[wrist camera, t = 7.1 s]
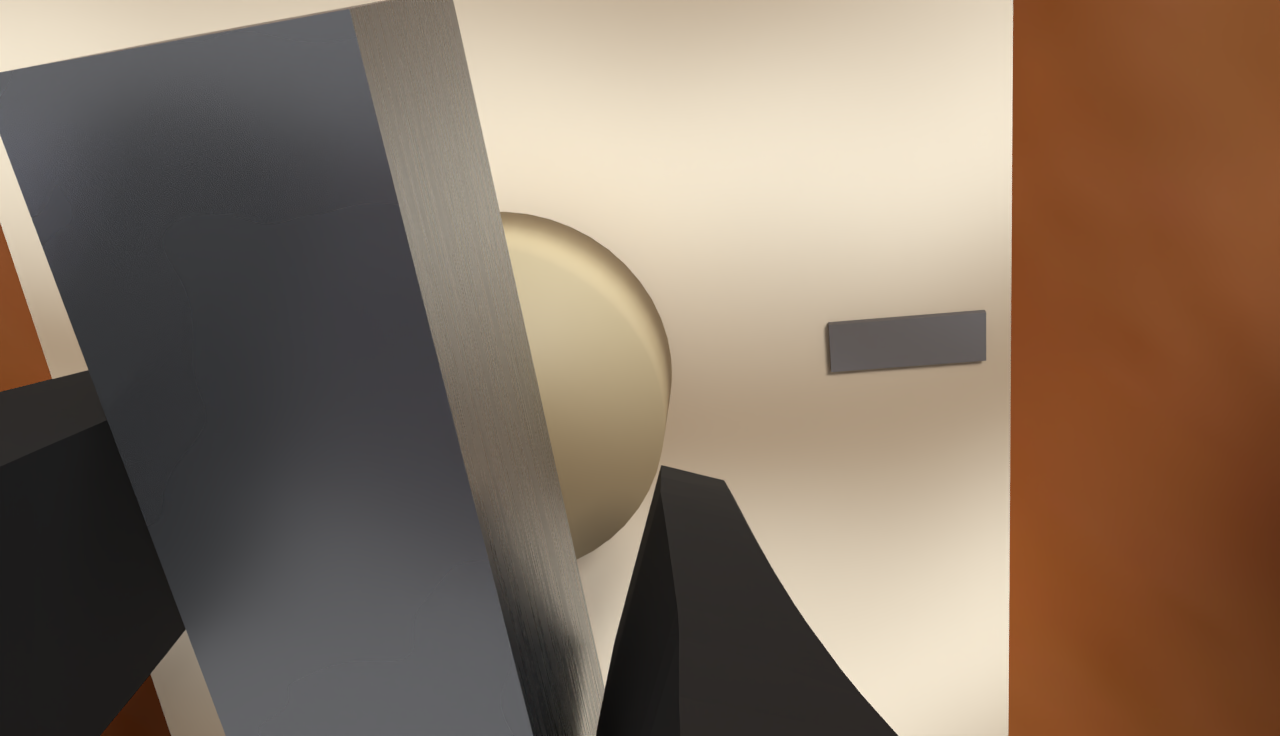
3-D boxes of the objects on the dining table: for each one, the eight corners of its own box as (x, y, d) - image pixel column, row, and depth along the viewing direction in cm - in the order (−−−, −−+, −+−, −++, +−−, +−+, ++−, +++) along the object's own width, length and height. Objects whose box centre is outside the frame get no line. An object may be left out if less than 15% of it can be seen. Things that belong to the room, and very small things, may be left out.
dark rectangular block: (500, -23, 10) (354, 7, 6) (660, 760, 13) (628, 1096, 10) (249, 24, 11) (-35, 78, 7) (463, 775, 14) (355, 1104, 10)
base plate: (-18, -89, 14) (-213, -94, 11) (983, -227, 12) (1054, -273, 9) (226, 705, 18) (131, 848, 15) (985, 675, 16) (1035, 827, 14)
